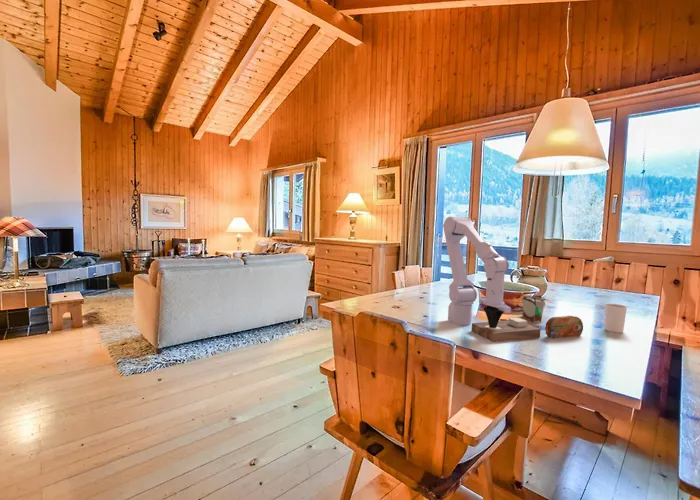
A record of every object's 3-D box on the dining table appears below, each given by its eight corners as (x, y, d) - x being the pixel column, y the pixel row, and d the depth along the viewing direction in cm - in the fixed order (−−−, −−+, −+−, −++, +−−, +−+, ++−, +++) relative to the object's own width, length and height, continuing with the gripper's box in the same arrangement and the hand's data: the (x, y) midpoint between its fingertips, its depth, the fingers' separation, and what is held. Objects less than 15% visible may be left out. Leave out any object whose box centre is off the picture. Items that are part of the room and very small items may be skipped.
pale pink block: (483, 333, 128) (483, 325, 127) (493, 332, 129) (493, 324, 129) (491, 337, 123) (491, 329, 123) (501, 336, 125) (502, 328, 124)
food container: (550, 326, 142) (552, 302, 141) (535, 326, 142) (536, 301, 141) (535, 317, 154) (536, 295, 153) (521, 317, 154) (522, 295, 153)
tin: (549, 342, 123) (551, 318, 122) (542, 339, 126) (544, 316, 125) (583, 338, 127) (584, 316, 126) (575, 336, 130) (577, 314, 129)
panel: (471, 333, 131) (471, 323, 130) (515, 329, 136) (515, 319, 136) (492, 344, 119) (493, 333, 119) (539, 339, 125) (540, 329, 125)
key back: (508, 326, 131) (508, 318, 130) (518, 325, 132) (518, 317, 132) (517, 329, 126) (517, 321, 126) (526, 329, 128) (527, 321, 127)
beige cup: (628, 333, 134) (630, 308, 133) (608, 332, 135) (611, 307, 134) (618, 328, 140) (620, 304, 139) (600, 327, 142) (602, 303, 141)
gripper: (519, 294, 119) (516, 332, 120) (490, 286, 133) (488, 321, 134) (501, 295, 117) (499, 334, 118) (474, 286, 131) (473, 322, 132)
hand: (492, 327), depth 126 cm, fingers closed, pressing on pale pink block
